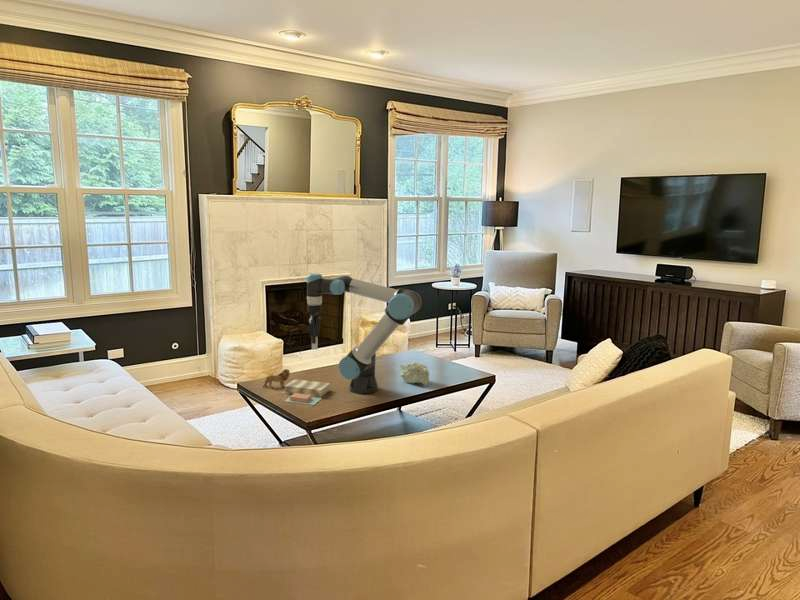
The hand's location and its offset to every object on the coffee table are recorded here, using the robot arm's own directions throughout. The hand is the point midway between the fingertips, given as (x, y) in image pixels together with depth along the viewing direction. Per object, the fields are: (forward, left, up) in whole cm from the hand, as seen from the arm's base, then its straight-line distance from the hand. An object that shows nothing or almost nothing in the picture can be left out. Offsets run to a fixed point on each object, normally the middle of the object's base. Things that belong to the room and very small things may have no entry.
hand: (314, 349), depth 300 cm
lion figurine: (+21, 0, -23) cm, 31 cm away
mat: (-1, +15, -22) cm, 27 cm away
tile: (+1, +16, -20) cm, 26 cm away
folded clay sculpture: (-47, -31, -23) cm, 60 cm away
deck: (+2, +3, -22) cm, 23 cm away
